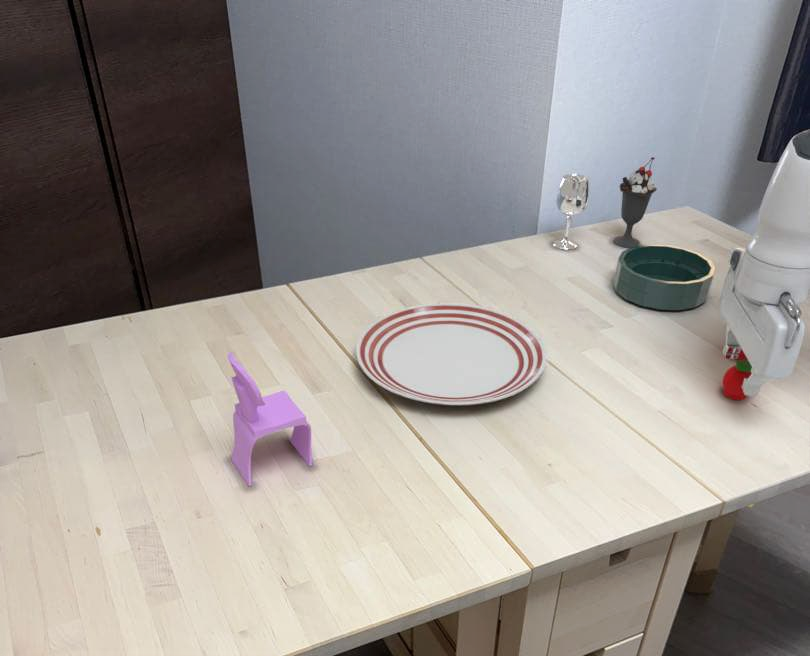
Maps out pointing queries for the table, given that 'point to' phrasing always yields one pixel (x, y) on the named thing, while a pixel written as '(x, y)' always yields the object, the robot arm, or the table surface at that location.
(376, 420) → the table surface
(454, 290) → the table surface
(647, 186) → the sundae
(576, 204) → the wineglass
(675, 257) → the bowl
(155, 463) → the table surface
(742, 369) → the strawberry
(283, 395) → the toy chair
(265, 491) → the table surface
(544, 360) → the dinner plate
